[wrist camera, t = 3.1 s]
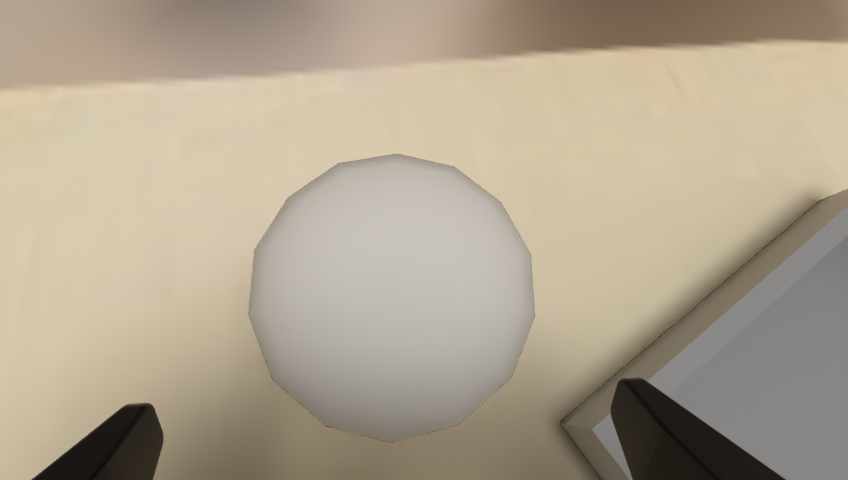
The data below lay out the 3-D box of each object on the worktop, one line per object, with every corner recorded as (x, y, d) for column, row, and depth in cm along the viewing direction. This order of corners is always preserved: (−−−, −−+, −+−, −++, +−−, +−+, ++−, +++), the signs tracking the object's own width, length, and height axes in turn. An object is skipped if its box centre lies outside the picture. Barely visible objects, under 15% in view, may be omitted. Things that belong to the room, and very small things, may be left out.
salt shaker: (322, 273, 19) (202, 73, 7) (460, 275, 20) (583, 89, 7) (313, 425, 17) (129, 530, 5) (464, 424, 18) (635, 517, 5)
